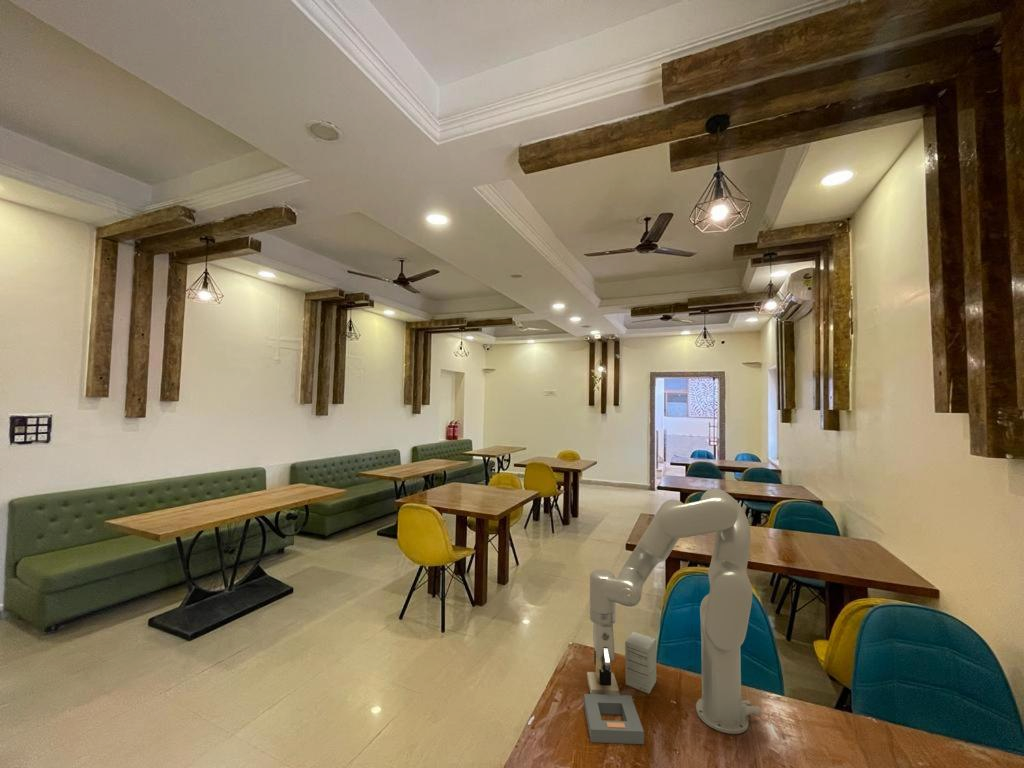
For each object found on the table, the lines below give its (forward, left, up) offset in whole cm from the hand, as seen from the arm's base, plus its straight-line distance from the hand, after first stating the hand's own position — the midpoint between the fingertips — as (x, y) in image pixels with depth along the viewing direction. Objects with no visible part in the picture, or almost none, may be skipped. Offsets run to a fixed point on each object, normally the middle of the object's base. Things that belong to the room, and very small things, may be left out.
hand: (602, 674), depth 124 cm
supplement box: (-12, -3, -4) cm, 13 cm away
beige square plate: (0, 0, -4) cm, 4 cm away
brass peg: (0, 0, -2) cm, 2 cm away
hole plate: (0, +14, -4) cm, 15 cm away
